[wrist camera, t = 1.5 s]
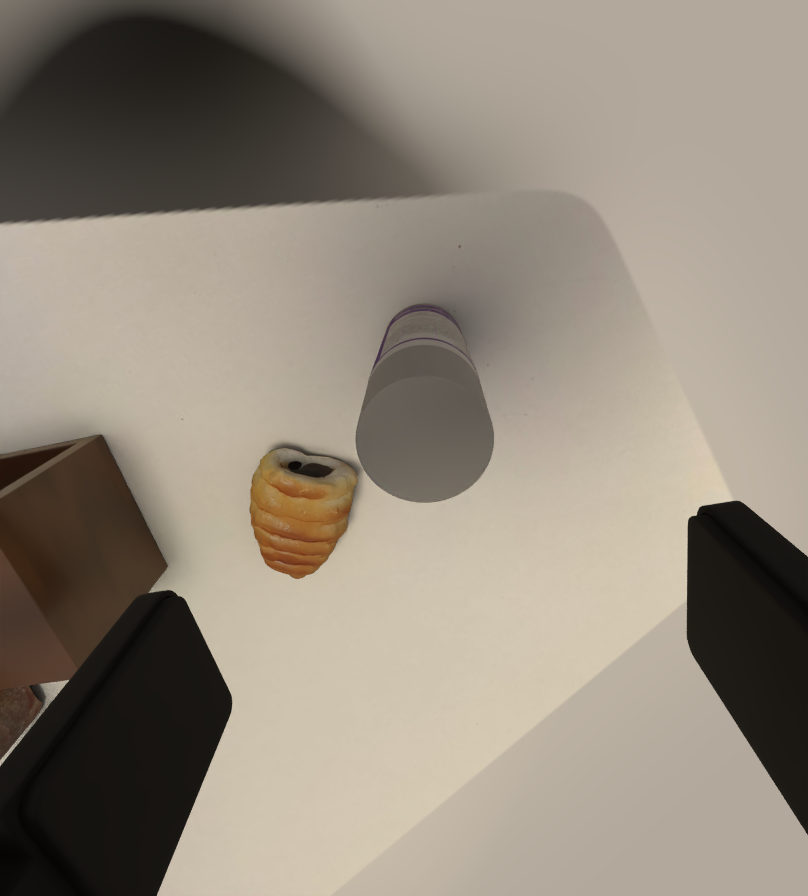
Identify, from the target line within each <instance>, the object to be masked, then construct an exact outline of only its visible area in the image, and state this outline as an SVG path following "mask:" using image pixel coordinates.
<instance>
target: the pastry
mask: <svg viewBox="0 0 808 896" xmlns="http://www.w3.org/2000/svg"><path fill="white" fill-rule="evenodd" d="M357 482H358V479H357V475H356V472H355V471H354V470H353V469H352V468H350V467H349V466H348V465H347V464H346V463H343V462H341V461H339V460H336V459H332V458H330V457H321V456H307V455H305V454H303V453H301V452H299V451H296V450H292V449H287V448H281V449H277V450H272V451H271V452H269V453H268V454H266V455H265V456H264V457H263V458H262V459H261V460H260V466H259V467H258V469H257V470H256V472H255V473H254V475H253V478H252V487H251V504H250V514H251V525H252V527H253V528H254V535H255V538H256V539H257V541H258V543H259V546H260V551H261V555H262V557H263V559H264V561H265V563H266V564H267V565H268V566H269V567H270V568H272V569H274V570H276V571H279V572H282V573H285V574H289V575H290V576H291V577H293V578H295V579H300V578H303V577H305V576H306V575H309V574H312V573H314V572H315V571H316V570H317V569H318V568H319V567H320V566H321V565H322V564H323V563H324V562H326V561H327V559H328V557H329V555H330V554H331V553H332V552H333V550H334V547H335V545H336V543H337V540H338V539H339V538H340V537H341V536H342V535H343V534H344V532H345V531H346V530H347V527H348V520H347V517H348V514H349V512H350V509H351V505H352V498H353V492H354V487H355V485H356V483H357Z"/></svg>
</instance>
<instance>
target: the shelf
mask: <svg viewBox="0 0 808 896" xmlns="http://www.w3.org/2000/svg"><path fill="white" fill-rule="evenodd" d="M166 568H167V565H166V563H165V561H164V559H163V557H162V555H161V553H160V551H159V549H158V547H157V545H156V543H155V541H154V539H153V537H152V535H151V533H150V531H149V529H148V527H147V525H146V523H145V521H144V519H143V517H142V515H141V513H140V511H139V509H138V507H137V505H136V503H135V501H134V499H133V497H132V495H131V493H130V491H129V489H128V487H127V485H126V483H125V481H124V479H123V477H122V475H121V473H120V471H119V469H118V467H117V465H116V463H115V461H114V459H113V457H112V455H111V453H110V451H109V449H108V447H107V445H106V443H105V441H104V439H103V437H102V435H97V436H92V437H87V438H82V439H77V440H72V441H67V442H62V443H57V444H53V445H48V446H43V447H38V448H33V449H28V450H23V451H18V452H13V453H8V454H3V455H0V689H7V688H14V687H21V686H28V685H35V684H42V683H50V682H57V681H64V680H70V679H71V678H72V676H73V675H74V674H75V673H76V671H77V670H78V669H79V668H80V666H81V665H82V664H83V663H84V661H85V660H86V659H87V658H88V656H89V655H90V654H91V653H92V651H93V650H94V649H95V648H96V646H97V645H98V644H99V643H100V641H101V640H102V639H103V638H104V636H105V635H106V634H107V633H108V632H109V630H110V629H111V628H112V627H113V625H114V624H115V623H116V622H117V620H118V619H119V618H120V617H121V615H122V614H123V613H124V612H125V610H126V609H127V608H128V607H129V605H130V604H131V603H132V602H133V600H134V599H135V598H136V597H138V596H139V595H142V594H147V593H148V592H149V591H150V590H151V588H152V587H153V586H154V584H155V583H156V582H157V580H158V579H159V578H160V576H161V575H162V574H163V572H164V571H165V570H166Z"/></svg>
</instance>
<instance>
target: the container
mask: <svg viewBox="0 0 808 896" xmlns="http://www.w3.org/2000/svg"><path fill="white" fill-rule="evenodd" d="M493 445H494V432H493V426H492V422H491V419H490V415H489V412H488V408H487V405H486V401H485V398H484V394H483V391H482V388H481V384H480V380H479V377H478V374H477V371H476V369H475V366H474V364H473V361H472V359H471V356H470V354H469V351H468V349H467V346H466V344H465V341H464V338H463V336H462V333H461V331H460V329H459V326H458V325H457V323H456V321H455V320H454V318H453V317H452V316H451V315H450V314H449V313H448V312H446V311H445V310H443V309H441V308H439V307H437V306H434V305H429V304H418V305H413V306H410V307H408V308H406V309H404V310H402V311H401V312H399V313H398V314H397V315H396V316H395V317H394V318H393V319H392V321H391V322H390V324H389V326H388V328H387V330H386V333H385V336H384V338H383V341H382V344H381V347H380V350H379V352H378V355H377V358H376V361H375V363H374V366H373V369H372V372H371V375H370V378H369V381H368V386H367V390H366V394H365V397H364V401H363V405H362V409H361V413H360V417H359V421H358V425H357V430H356V449H357V454H358V457H359V460H360V462H361V465H362V467H363V469H364V470H365V472H366V473H367V475H368V476H369V477H370V478H371V480H372V481H373V482H374V483H375V484H376V485H378V486H379V487H380V488H381V489H383V490H384V491H386V492H387V493H389V494H391V495H393V496H395V497H398V498H400V499H404V500H407V501H412V502H423V503H428V502H437V501H442V500H446V499H449V498H451V497H454V496H456V495H458V494H460V493H462V492H463V491H465V490H467V489H468V488H469V487H470V486H472V485H473V484H474V483H475V482H476V481H477V480H478V479H479V478H480V476H481V475H482V474H483V472H484V471H485V469H486V467H487V465H488V463H489V461H490V458H491V455H492V451H493Z"/></svg>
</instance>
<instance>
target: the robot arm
mask: <svg viewBox="0 0 808 896" xmlns="http://www.w3.org/2000/svg"><path fill="white" fill-rule="evenodd" d="M687 640H688V644H689V647H690V650H691V652H692V655H693V656H694V658H695V660H696V661H697V663H698V664H699V666H700V667H701V669H702V671H703V672H704V674H705V675H706V677H707V678H708V680H709V682H710V683H711V685H712V686H713V688H714V689H715V691H716V693H717V694H718V695H719V697H720V699H721V700H722V702H723V703H724V705H725V707H726V708H727V710H728V711H729V713H730V714H731V716H732V717H733V719H734V720H735V722H736V724H737V725H738V727H739V728H740V730H741V732H742V733H743V735H744V736H745V738H746V739H747V741H748V742H749V744H750V746H751V747H752V749H753V750H754V752H755V753H756V755H757V756H758V758H759V760H760V761H761V763H762V764H763V766H764V767H765V769H766V770H767V772H768V774H769V775H770V777H771V778H772V780H773V781H774V783H775V785H776V786H777V787H778V789H779V791H780V792H781V794H782V795H783V797H784V799H785V800H786V802H787V803H788V805H789V806H790V808H791V809H792V811H793V813H794V814H795V816H796V817H797V819H798V820H799V822H800V824H801V825H802V826H803V828H804V829H805V831H806V833H807V834H808V557H807V556H806V555H805V554H804V553H802V552H801V551H800V550H799V549H798V548H796V547H795V546H794V545H793V544H792V543H791V542H789V541H788V540H787V539H786V538H784V537H783V536H782V535H781V534H780V533H779V532H777V531H776V530H775V529H774V528H773V527H771V526H770V525H769V524H768V523H767V522H765V521H764V520H763V519H762V518H761V517H759V516H758V515H757V514H756V513H755V512H753V511H752V510H751V509H750V508H749V507H747V506H746V505H745V504H744V503H742V502H740V501H731V502H725V503H718V504H712V505H705V506H702V507H700V508H699V510H698V512H697V516H692V517H690V518H689V520H688V562H687ZM231 710H232V697H231V694H230V691H229V689H228V687H227V685H226V683H225V681H224V679H223V677H222V675H221V673H220V671H219V668H218V666H217V664H216V662H215V660H214V658H213V656H212V654H211V652H210V650H209V648H208V646H207V644H206V642H205V640H204V638H203V635H202V633H201V631H200V629H199V627H198V625H197V623H196V621H195V619H194V617H193V615H192V613H191V611H190V609H189V607H188V605H187V603H186V601H185V599H184V598H182V597H180V596H177V594H176V593H174V592H173V591H170V590H166V591H160V592H153V593H147V594H142V595H139V596H138V597H136V598H135V599H134V600H133V602H132V603H131V604H130V605H129V607H128V608H127V609H126V610H125V612H124V613H123V614H122V615H121V617H120V618H119V619H118V620H117V622H116V623H115V624H114V625H113V627H112V628H111V629H110V630H109V632H108V633H107V634H106V635H105V636H104V638H103V639H102V640H101V641H100V643H99V644H98V645H97V646H96V648H95V649H94V650H93V651H92V653H91V654H90V655H89V656H88V658H87V659H86V660H85V661H84V663H83V664H82V665H81V666H80V668H79V669H78V670H77V671H76V673H75V674H74V675H73V676H72V678H71V679H70V680H69V681H68V683H67V684H66V685H65V686H64V688H63V689H62V690H61V691H60V693H59V694H58V695H57V696H56V698H55V699H54V700H53V701H52V703H51V704H50V705H49V706H48V708H47V709H46V710H45V711H44V712H43V714H42V715H41V716H40V717H39V719H38V720H37V721H36V722H35V724H34V725H33V726H32V727H31V729H30V730H29V731H28V732H27V734H26V735H25V736H24V737H23V739H22V740H21V741H20V742H19V744H18V745H17V746H16V747H15V749H14V750H13V751H12V752H11V754H10V755H9V756H8V757H7V759H6V760H5V761H4V762H3V764H2V765H1V766H0V896H157V893H158V891H159V888H160V886H161V884H162V881H163V879H164V876H165V874H166V871H167V869H168V866H169V864H170V861H171V859H172V857H173V854H174V852H175V849H176V847H177V844H178V842H179V839H180V837H181V834H182V832H183V830H184V827H185V825H186V822H187V820H188V817H189V815H190V812H191V810H192V807H193V805H194V803H195V800H196V798H197V795H198V793H199V790H200V788H201V785H202V783H203V780H204V778H205V776H206V773H207V771H208V768H209V766H210V763H211V761H212V758H213V756H214V753H215V751H216V749H217V746H218V744H219V741H220V739H221V736H222V734H223V731H224V729H225V726H226V724H227V722H228V719H229V717H230V714H231Z"/></svg>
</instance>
